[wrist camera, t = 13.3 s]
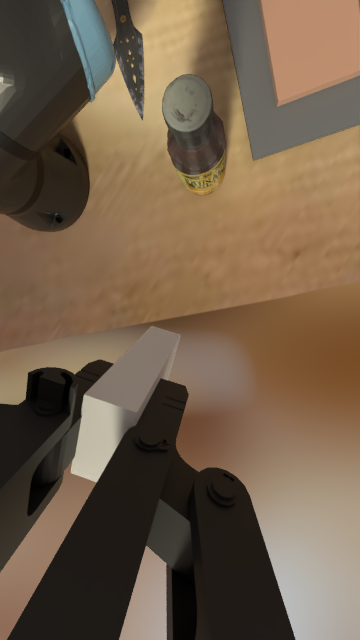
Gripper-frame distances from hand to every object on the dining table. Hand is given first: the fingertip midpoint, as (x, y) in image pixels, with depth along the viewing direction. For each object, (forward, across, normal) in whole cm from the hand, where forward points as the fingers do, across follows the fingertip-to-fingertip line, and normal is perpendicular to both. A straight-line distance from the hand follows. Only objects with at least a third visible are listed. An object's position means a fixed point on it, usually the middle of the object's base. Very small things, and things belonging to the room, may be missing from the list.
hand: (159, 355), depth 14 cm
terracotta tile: (+31, +7, +27) cm, 41 cm away
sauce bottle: (+33, -5, +15) cm, 36 cm away
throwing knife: (+33, -20, +29) cm, 48 cm away
